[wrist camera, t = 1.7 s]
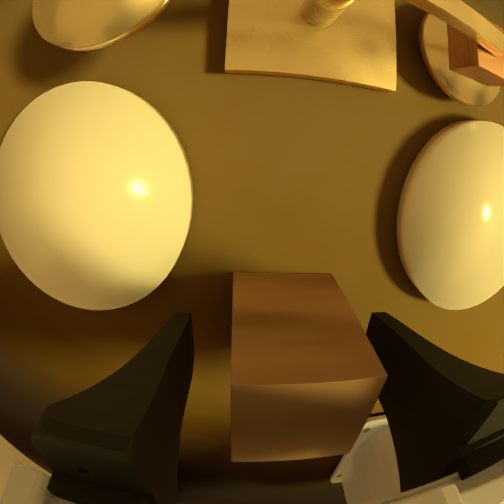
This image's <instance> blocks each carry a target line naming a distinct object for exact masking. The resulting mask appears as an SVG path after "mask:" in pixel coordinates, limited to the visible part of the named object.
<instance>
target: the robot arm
mask: <svg viewBox="0 0 504 504" xmlns="http://www.w3.org/2000/svg"><path fill="white" fill-rule="evenodd" d="M366 336H367V337H368V339H369V341H370V343H371V345H372V347H373V349H374V350H375V352H376V354H377V356H378V358H379V360H380V362H381V364H382V366H383V367H384V369H385V371H386V373H387V375H388V376H387V379H386V381H385V383H384V385H383V388H382V390H381V392H380V394H379V397H378V399H379V401H380V403H381V405H382V408H383V410H384V413H385V415H381V416H375V417H369V418H368V419H367V421H366V423H365V425H364V427H363V429H362V431H361V433H360V435H359V437H358V439H357V440H356V442H355V444H354V446H353V448H352V449H351V451H350V453H348V454H344V455H343V457H342V459H341V461H340V462H339V464H338V466H337V468H336V469H335V471H334V473H333V474H332V476H331V478H330V481H331V482H332V483H337V482H342V484H343V489H344V493H345V497H346V501H347V504H504V374H502V373H498V372H494V371H491V370H488V369H485V368H482V367H479V366H476V365H474V364H471V363H469V362H466V361H464V360H462V359H460V358H458V357H456V356H454V355H452V354H450V353H448V352H446V351H444V350H442V349H441V348H439V347H437V346H436V345H434V344H432V343H431V342H429V341H428V340H426V339H425V338H423V337H422V336H420V335H419V334H417V333H416V332H414V331H413V330H411V329H410V328H408V327H407V326H406V325H404V324H403V323H401V322H400V321H398V320H397V319H395V318H394V317H392V316H391V315H389V314H387V313H385V312H376V313H372V314H371V318H370V321H369V325H368V328H367V332H366ZM193 364H194V343H193V330H192V316H191V313H179V312H176V313H174V314H173V315H172V317H171V318H170V319H169V320H168V321H167V323H166V324H165V325H164V326H163V327H162V329H161V330H160V331H159V332H158V333H157V334H156V335H155V336H154V338H153V339H152V340H151V341H150V342H149V343H148V344H147V345H146V346H145V347H144V348H143V349H142V350H141V351H140V352H139V353H138V354H137V355H136V356H135V357H133V358H132V359H131V360H130V361H129V362H128V363H126V364H125V365H124V366H123V367H121V368H120V369H119V370H117V371H116V372H115V373H113V374H112V375H110V376H108V377H107V378H105V379H104V380H102V381H101V382H99V383H97V384H96V385H94V386H92V387H90V388H88V389H86V390H84V391H82V392H80V393H78V394H76V395H74V396H71V397H69V398H66V399H64V400H61V401H58V402H56V403H53V404H50V405H47V407H46V408H45V410H44V412H43V414H42V415H41V417H40V420H39V422H38V424H37V426H36V428H35V430H34V432H33V435H32V437H31V440H32V443H33V446H34V447H35V449H36V450H37V452H38V453H39V454H40V455H41V457H42V458H43V459H44V460H45V461H46V462H47V464H48V465H49V466H50V467H51V468H52V469H53V473H52V476H51V478H50V477H49V476H47V475H46V474H44V473H42V472H40V471H37V470H35V469H33V468H30V467H28V466H25V465H23V464H21V463H19V462H15V464H14V466H13V468H12V471H11V473H10V475H9V478H8V481H7V483H6V485H5V488H4V491H3V493H2V496H1V499H0V504H177V475H178V458H179V444H180V433H181V426H182V420H183V415H184V411H185V406H186V402H187V397H188V393H189V388H190V384H191V379H192V374H193Z"/></svg>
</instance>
